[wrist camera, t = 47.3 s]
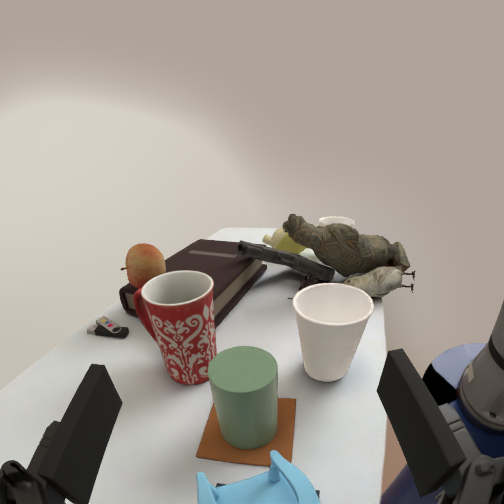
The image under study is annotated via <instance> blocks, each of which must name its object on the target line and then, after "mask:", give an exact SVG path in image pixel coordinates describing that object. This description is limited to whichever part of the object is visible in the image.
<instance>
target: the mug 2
mask: <svg viewBox="0 0 504 504" xmlns="http://www.w3.org/2000/svg"><path fill="white" fill-rule="evenodd" d="M332 223H342V224H346V225H348V226H350V227H352V228H353V229H354V227H355V222H354V220H352V219H350V218H346V217H338V216H332V217H331V216H330V217H324V218H321V219H320V220H319V226H322V227H325V226H327V225H330V224H332Z"/></svg>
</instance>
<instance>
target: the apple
mask: <svg viewBox="0 0 504 504" xmlns="http://www.w3.org/2000/svg"><path fill="white" fill-rule="evenodd" d="M124 269H127V275H128V280H129V282H130V284H131V285H132V286H134V287H136V288H138V289H140V288H142V287H143V286H144V285H145V284H146V283H147V282H148V281H149V280H151V279H153V278H155V277H157V276H159V275H162V274H165V272H166V266H165V261H164V257H163V255H162V253H161V252H160V251H159V250H158V249H157V248H156V247H154V246H152V245H149V244H137V245H135V246H133V247H132V248H131V249H130V250H129V251H128V254H127V257H126V268H121V270H124Z"/></svg>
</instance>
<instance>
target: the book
mask: <svg viewBox="0 0 504 504" xmlns="http://www.w3.org/2000/svg"><path fill="white" fill-rule="evenodd" d="M238 245H239V242H227V241H215V240H203V239H200V240H197V241H196V242H194V243H192V244H191V245H189V246H187V247H186V248H184V249H183V250H181V251H179V252H178V253H176V254H175V255H173V256H171V257H169V258H168V259H166V260H165V266H166V272H165V273H168V272H174V271H185V270H187V271H198V272H202V273H205V274H207V275H209V276H210V277H211V278H212V279H213V282H214V287H213V290H212V291H213V307H214V323H215V328H216V327H217V326H218V325H219V324H220V322H221V321H222V320H223V319H224V318H225V317H226V316H227V314H228V313H229V312H230V311H231V310H232V309H233V307H234V306H235V305H236V304H237V303H238V302H239V301H240V299H241V298H242V297H243V296H244V295H245V294H246V292H247V291H248V290H249V289H250V288H251V287H252V285H253V284H254V283H255V282H256V281H257V280H258V278H259V277H260V276H261V275H262V274H263V273H264V271H265V270H266V269H267V265H265V264H262V261H261V260H258V259H256V258H253V257H249V256H244V255H240V254H238V253H236V251H237V248H238ZM257 245H261V246H265V247H266V245H262V244H257ZM138 290H139V289H138V288H136V287H134V286H132V285H131V284H130V283H128V284H127V285H125V286H124V287H122V288H121V289H120V291H119V294H120V300H121V303H122V305H123V308H124V309H125V311H126V312H127V313H129V314H130V315H133V316H136V317H139V316H138V314H137V312H136V309H135V306H134V294H135V292H136V291H138ZM143 301H144V299H143ZM144 305H145V307H146V304H145V301H144ZM146 310H147V307H146Z"/></svg>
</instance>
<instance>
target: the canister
mask: <svg viewBox="0 0 504 504" xmlns="http://www.w3.org/2000/svg"><path fill="white" fill-rule="evenodd" d="M208 377H209V381H210V386H211V391H212V395H213V400H214V404H215V409H216V413H217V417H218V422H219V426H220V430H221V434H222V436H223V438H224V439H225V440H226V441H227V442H228V443H229V444H230V445H232V446H234V447H236V448H240V449H247V450H249V449H257V448H260V447H263V446H265V445H266V444H268V443H269V442H270V441H271V440H272V439H273V438H274V437H275V435H276V432H277V418H278V366H277V362H276V360H275V358H274V357H273V356H272V355H271V354H270V353H268V352H267V351H265V350H263V349H260V348H257V347H251V346H239V347H233V348H230V349H227V350H224V351H222V352H220V353H219V354H217V355H216V356H215V357H214V358H213V359H212V360H211V362H210V364H209V366H208Z"/></svg>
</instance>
